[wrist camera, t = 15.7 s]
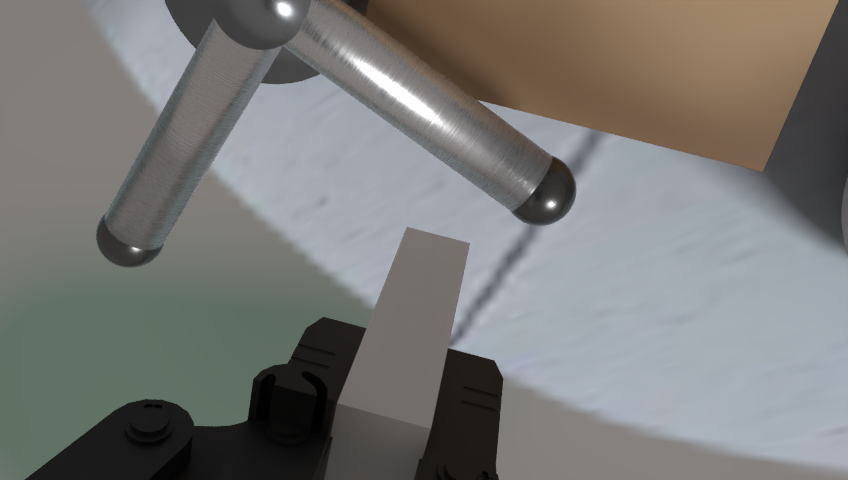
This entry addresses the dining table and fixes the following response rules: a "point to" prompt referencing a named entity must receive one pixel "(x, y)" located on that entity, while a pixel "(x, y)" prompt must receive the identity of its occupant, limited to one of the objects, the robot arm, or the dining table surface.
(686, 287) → the dining table surface
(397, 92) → the capstan
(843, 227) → the teacup
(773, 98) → the stand
